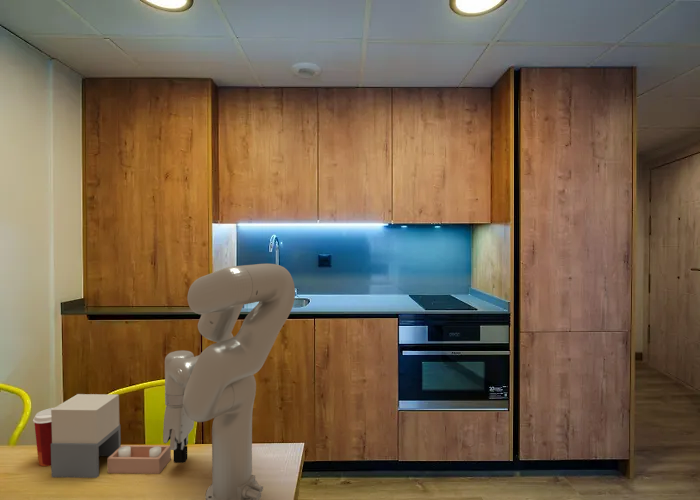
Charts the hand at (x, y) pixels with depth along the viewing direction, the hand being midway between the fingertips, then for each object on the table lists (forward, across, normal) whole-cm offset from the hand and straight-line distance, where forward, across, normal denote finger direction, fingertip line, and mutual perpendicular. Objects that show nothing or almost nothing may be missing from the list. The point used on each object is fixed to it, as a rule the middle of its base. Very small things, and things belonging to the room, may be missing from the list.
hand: (180, 461), depth 115 cm
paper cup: (+2, -2, -38) cm, 38 cm away
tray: (+1, 0, -11) cm, 11 cm away
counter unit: (+2, 0, -26) cm, 26 cm away
